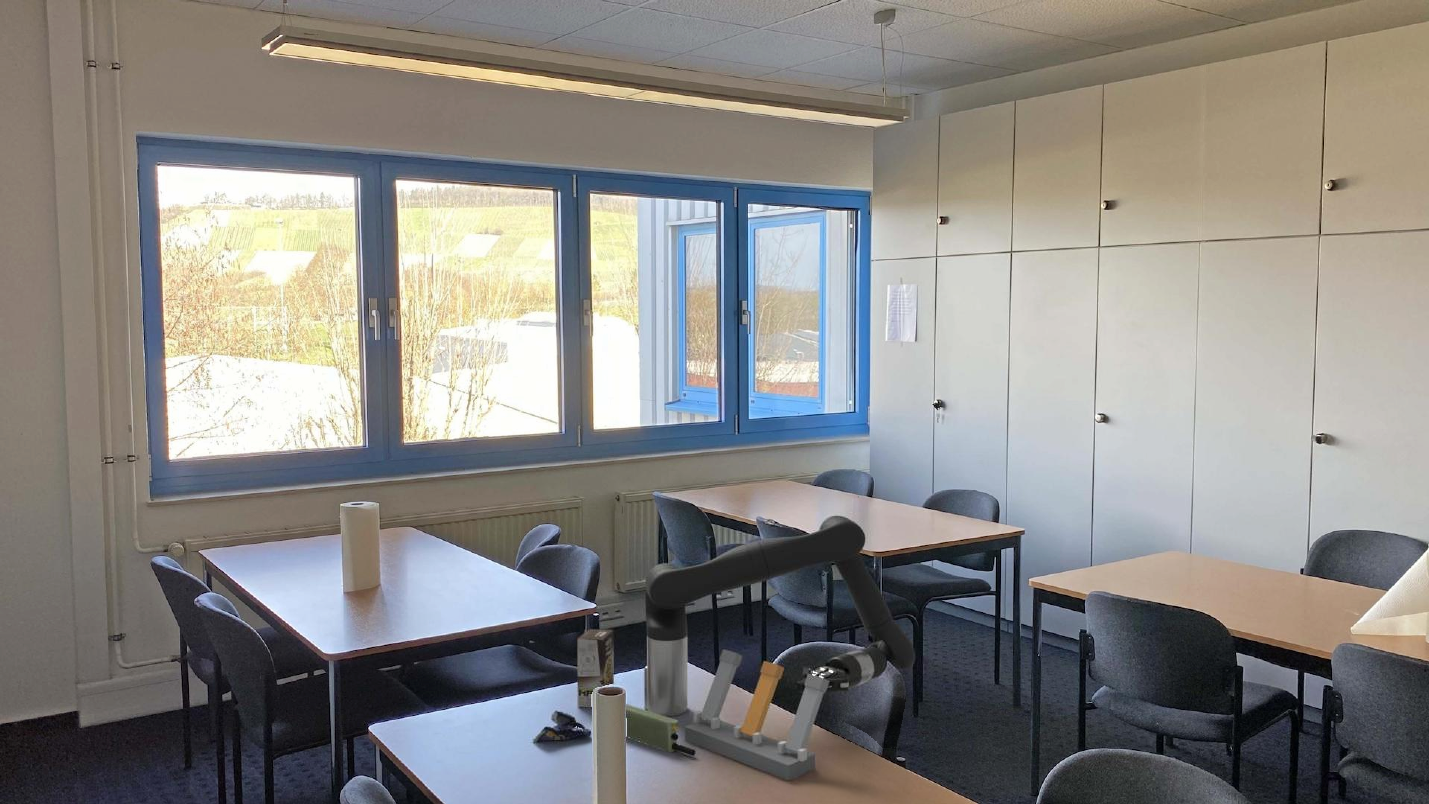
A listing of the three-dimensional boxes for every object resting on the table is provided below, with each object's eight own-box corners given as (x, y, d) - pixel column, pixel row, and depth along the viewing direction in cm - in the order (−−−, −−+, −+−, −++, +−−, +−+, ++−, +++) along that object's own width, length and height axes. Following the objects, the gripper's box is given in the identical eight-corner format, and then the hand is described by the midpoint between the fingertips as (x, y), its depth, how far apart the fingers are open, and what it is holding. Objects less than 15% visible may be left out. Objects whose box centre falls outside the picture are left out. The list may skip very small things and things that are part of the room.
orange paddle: (739, 731, 216) (763, 660, 221) (745, 733, 218) (770, 664, 222) (753, 736, 214) (778, 665, 218) (759, 739, 215) (784, 668, 220)
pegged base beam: (682, 739, 223) (682, 716, 223) (709, 730, 229) (709, 707, 229) (790, 781, 202) (790, 756, 202) (817, 769, 208) (817, 744, 207)
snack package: (537, 729, 231) (529, 748, 219) (542, 700, 231) (534, 717, 219) (591, 738, 231) (586, 757, 220) (596, 709, 231) (591, 727, 220)
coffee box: (603, 709, 242) (602, 639, 241) (576, 707, 244) (576, 638, 243) (615, 696, 251) (614, 629, 250) (589, 694, 253) (588, 627, 252)
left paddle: (698, 716, 225) (723, 649, 229) (704, 719, 226) (729, 652, 231) (711, 721, 222) (736, 652, 227) (718, 724, 223) (742, 656, 228)
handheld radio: (614, 727, 231) (699, 756, 215) (603, 732, 229) (689, 761, 213) (613, 697, 231) (698, 724, 215) (602, 702, 228) (688, 729, 212)
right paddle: (783, 746, 208) (807, 673, 212) (789, 749, 209) (814, 676, 214) (798, 752, 205) (823, 678, 210) (804, 755, 206) (829, 681, 211)
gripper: (827, 647, 243) (776, 663, 231) (873, 659, 234) (823, 677, 222) (826, 679, 244) (776, 697, 231) (873, 693, 234) (823, 712, 222)
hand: (799, 687), depth 226 cm, fingers closed
